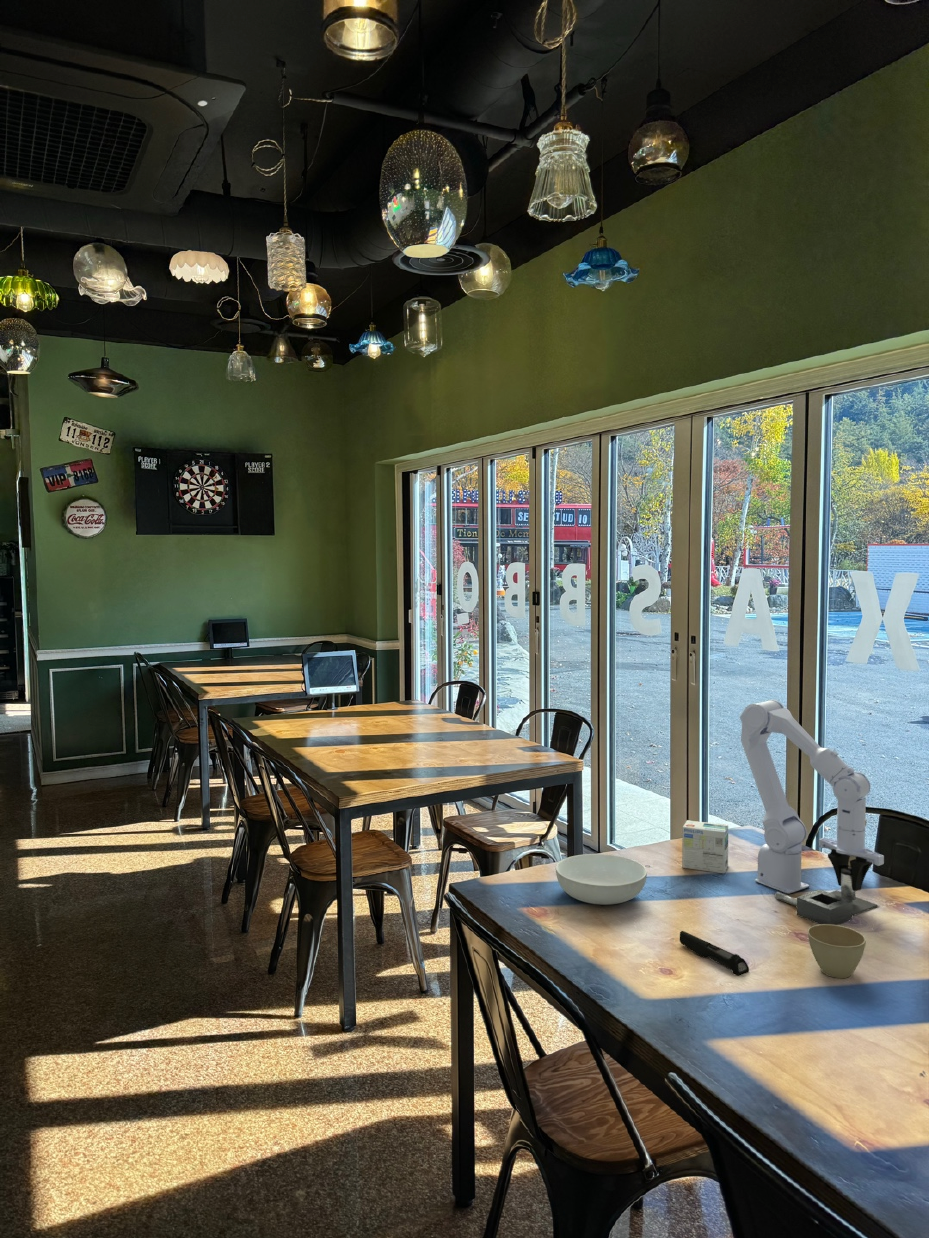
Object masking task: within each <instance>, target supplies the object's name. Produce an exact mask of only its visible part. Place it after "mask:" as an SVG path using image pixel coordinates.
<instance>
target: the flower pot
mask: <svg viewBox="0 0 929 1238" xmlns="http://www.w3.org/2000/svg"><path fill="white" fill-rule="evenodd" d="M807 938H808V942H809V946H810V950H811V952H812V955H813V957H814V959H815V962H816V963H817V965H818V967H819V968H820V970H821V972H822V973H823V974H825V975H826V976H829V977H832V978H837V979H846V978H848V977H850V976H851V975H852V974H853V973H854V971H855V970H856V969H857V967H858V966H859V964H860V962H861V960H862V958H863V955H864V951H865V948H866V942H867V940H866V936H864V934H862V933H861V932H860V931H857V930H856V929H853V928H850V927H847V926H843V925H840V924H839V925H831V924H815V925H812V926H810V927H809V928H808V929H807Z"/></svg>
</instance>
